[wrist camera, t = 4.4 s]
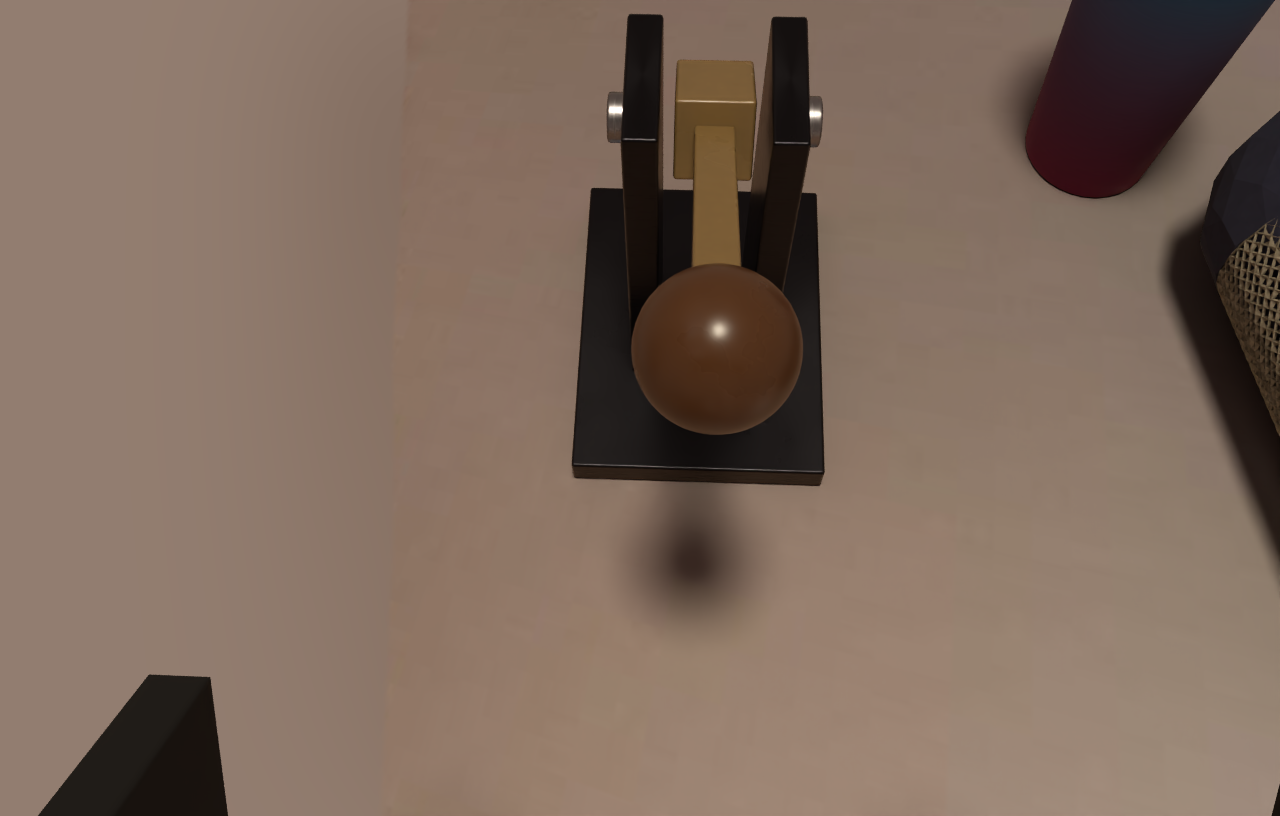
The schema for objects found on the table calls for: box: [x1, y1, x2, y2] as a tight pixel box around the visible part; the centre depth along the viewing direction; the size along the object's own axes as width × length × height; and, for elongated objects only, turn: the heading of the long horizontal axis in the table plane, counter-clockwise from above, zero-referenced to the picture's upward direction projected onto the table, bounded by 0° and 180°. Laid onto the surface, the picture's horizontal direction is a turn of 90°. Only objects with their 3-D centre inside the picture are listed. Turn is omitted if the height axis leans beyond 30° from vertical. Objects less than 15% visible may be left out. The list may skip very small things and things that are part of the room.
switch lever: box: [631, 60, 803, 435], centre depth 28 cm, size 14×4×4 cm, turn 178°
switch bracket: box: [572, 14, 825, 485], centre depth 38 cm, size 12×9×15 cm
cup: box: [1026, 0, 1275, 197], centre depth 41 cm, size 7×7×15 cm
